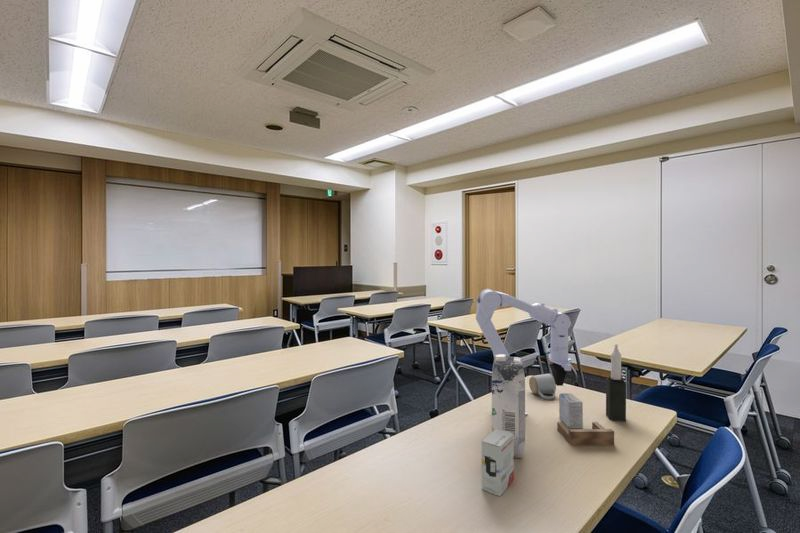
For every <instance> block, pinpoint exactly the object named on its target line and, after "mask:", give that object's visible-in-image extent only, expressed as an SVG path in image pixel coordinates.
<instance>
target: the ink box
mask: <svg viewBox="0 0 800 533" xmlns="http://www.w3.org/2000/svg"><path fill="white" fill-rule="evenodd" d="M514 459H515V457H514V434H513V433H511V432H507V431H503V430H500V429H495V430H494V431H493V432H492V431H491V432H490V434H488V435H487V436H486V437H484V439H483V440H481V489H482V490H483V489H484V491H486V492H488V493H490V494H492V493H493V495H495V496H497V495H498V496H497V497H500V496H502V494H503V493H504V492H505V491H506V490H507V488H508V487H509V486H510V485H511V484H512V482H513V481H514V479H515V471H514V470H515V468H514V466H515V462H514V461H515V460H514Z"/></svg>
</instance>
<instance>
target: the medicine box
mask: <svg viewBox="0 0 800 533" xmlns="http://www.w3.org/2000/svg"><path fill="white" fill-rule="evenodd" d="M558 397H559V399H558V400H559V402H558V404H559V407H558V408H559V410H558V412H559V419H560V420H561V422H562V423H563V424H564V425H565V426H566V427H567V428H568V429H584V423H583V422H584V417H583V416H584V414H583V412H584V411H583V410H584V409H583V404H584V403H583V401H582V400H580V399H579V398H578V397H577V396H575V394H573V393H569V392H565V393H564V392H563V393H559V396H558Z"/></svg>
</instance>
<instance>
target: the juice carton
mask: <svg viewBox="0 0 800 533" xmlns="http://www.w3.org/2000/svg"><path fill="white" fill-rule="evenodd" d="M523 364H524V363H523V359H522V357H520V356H510V355H509V356H506V355H504V354H499V355H496V356H495V355H494V358H493V364H492V371H491V433H492V432H493V431H494V430H495V429H500V430H503V431H507V432H511V433H513V434H514V459H516V458H517V459H522V458H523V454H524V450H525V445H526V415H525V411H526V377H525V376H526V375H525V371H524V365H523Z"/></svg>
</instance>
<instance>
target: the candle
mask: <svg viewBox="0 0 800 533" xmlns="http://www.w3.org/2000/svg"><path fill="white" fill-rule="evenodd" d="M618 346H619V345H618V344H617V343H616V344H614V348H613V350H612V352H611V353H610V376H608V377H606V378H605V416H607V418H608V419H609V420H610V421H614V422H615V421H617V422H626V421H627V382H626V381H625V378H623V377H622V354H621V352H620V351H619V347H618Z"/></svg>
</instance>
